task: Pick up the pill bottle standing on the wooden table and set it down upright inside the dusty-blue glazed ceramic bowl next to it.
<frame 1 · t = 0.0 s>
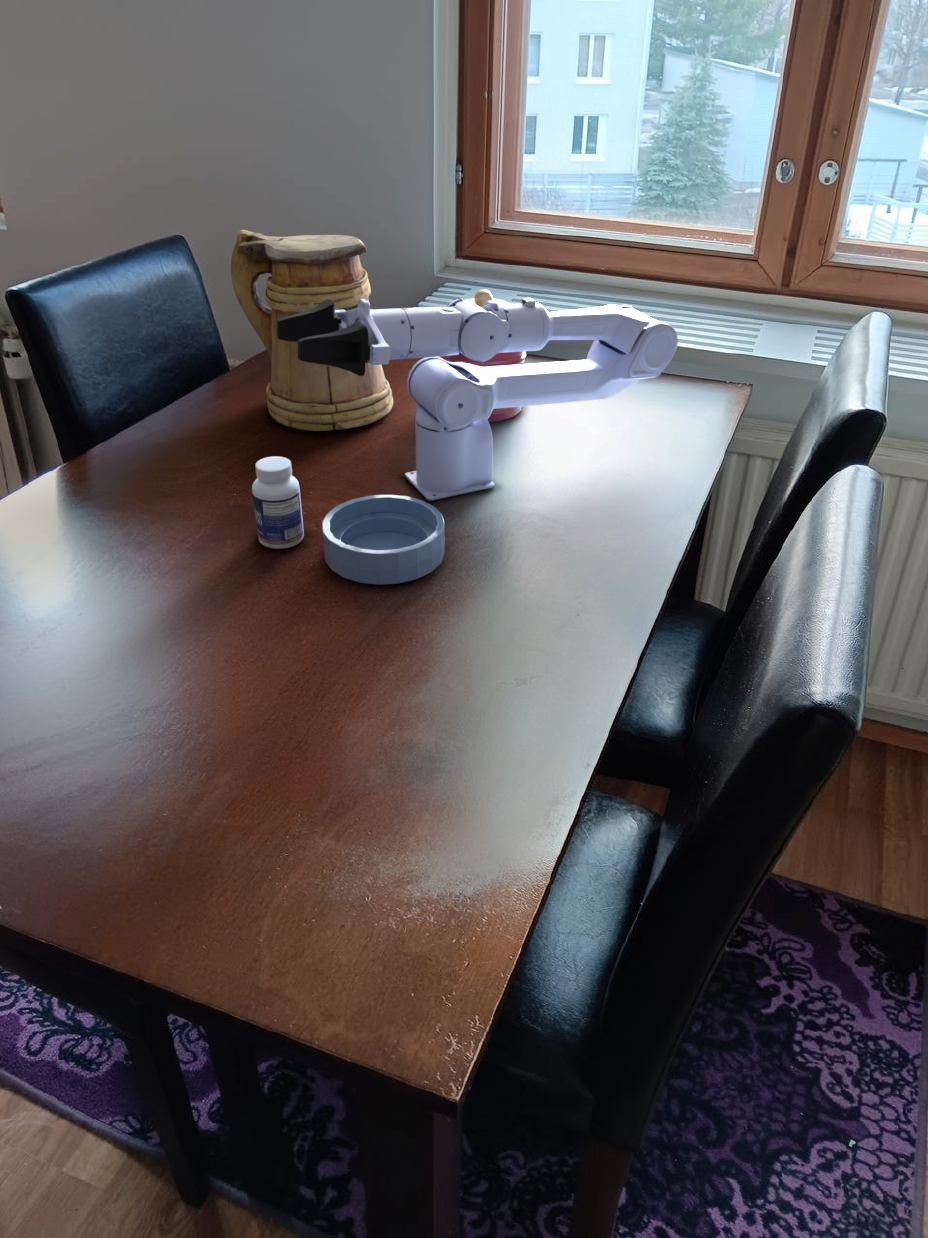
hand: (287, 339, 107), 22 cm above the table, tool horizontal, fingers open, 7 cm apart
kitchen canister: (481, 408, 148), on the table
pill bottle: (281, 540, 115), on the table
tankard: (316, 409, 147), on the table
bowl: (384, 557, 111), on the table
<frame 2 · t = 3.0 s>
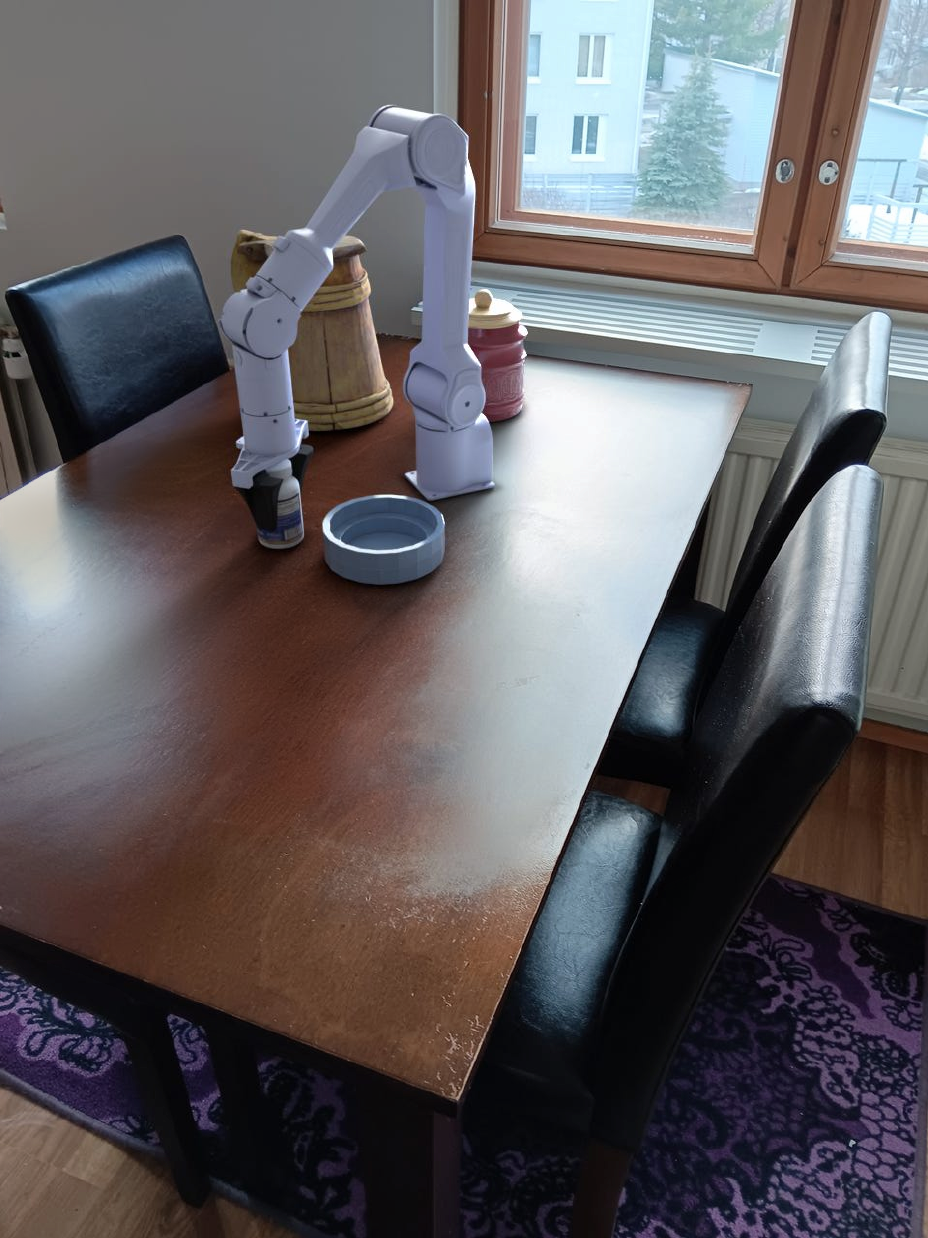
hand: (279, 517, 113), 3 cm above the table, tool pointing down, fingers closed on pill bottle, 5 cm apart
pill bottle: (281, 540, 115), on the table, touching gripper
everything else where it was.
when the fingers open (3 cm above the table, at t = 7.8 s): pill bottle stays where it is, resting on bowl.
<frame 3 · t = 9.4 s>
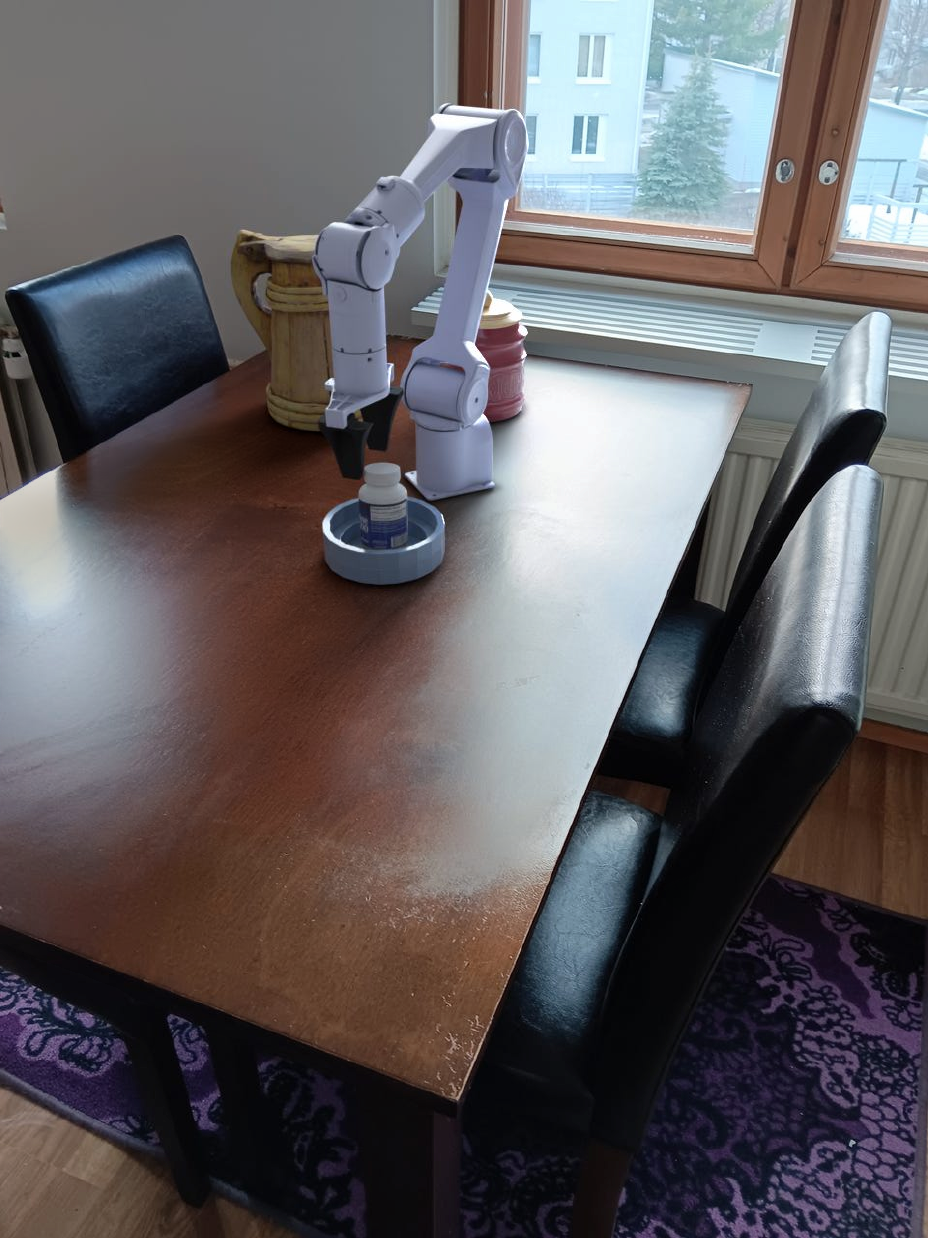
hand: (365, 463, 110), 10 cm above the table, tool pointing down, fingers open, 7 cm apart
pill bottle: (384, 551, 111), point 1 cm above the table, touching bowl
everything else where it was.
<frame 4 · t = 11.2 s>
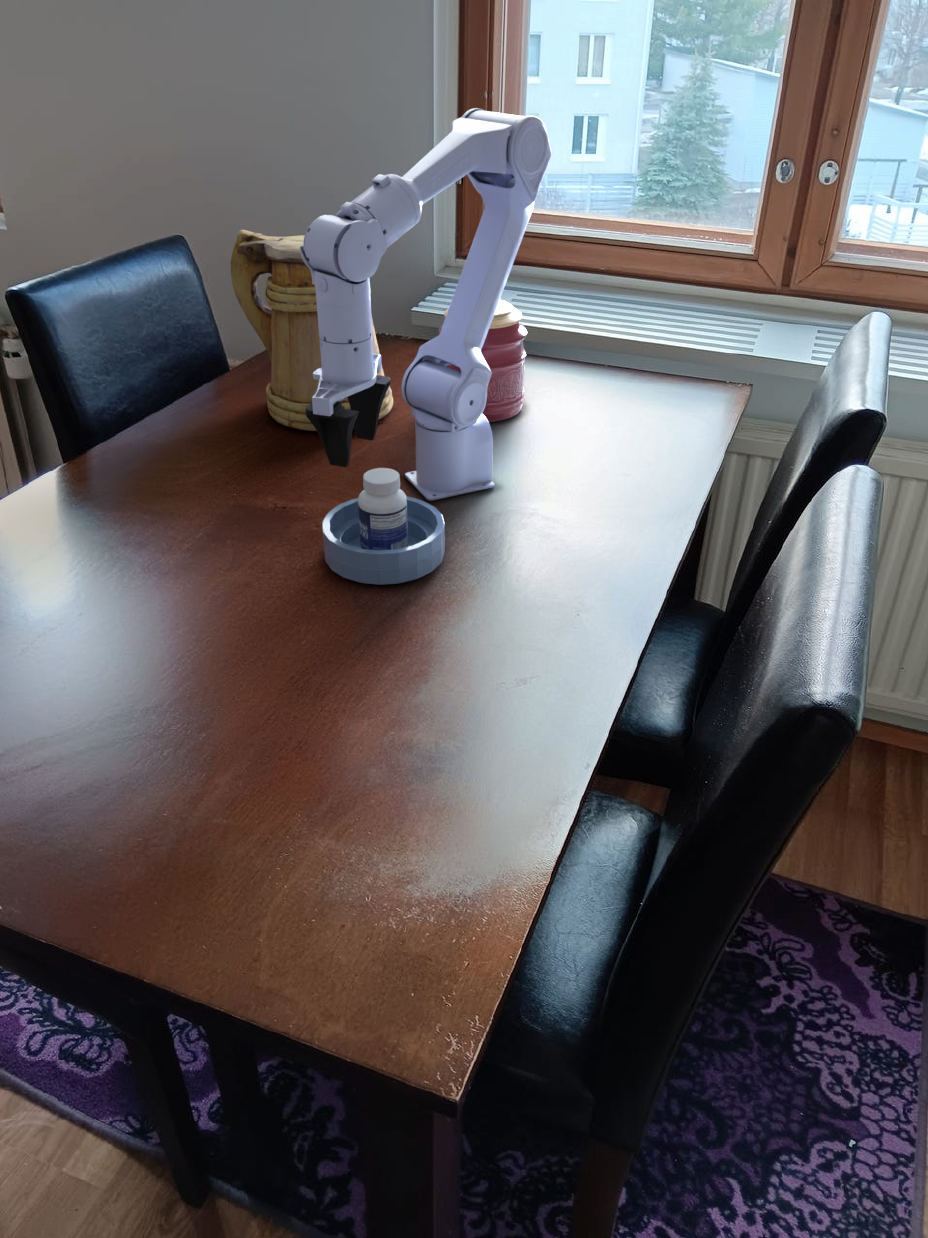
hand: (352, 451, 113), 9 cm above the table, tool pointing down, fingers open, 7 cm apart
at the end: pill bottle 0.0 cm off-centre in the bowl, point 0.4 cm above the bowl's base; pill bottle tilted 0°; the gripper is holding nothing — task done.
